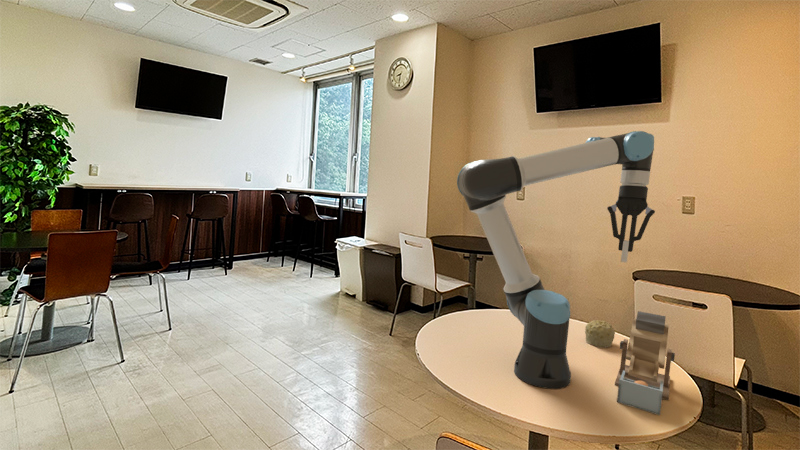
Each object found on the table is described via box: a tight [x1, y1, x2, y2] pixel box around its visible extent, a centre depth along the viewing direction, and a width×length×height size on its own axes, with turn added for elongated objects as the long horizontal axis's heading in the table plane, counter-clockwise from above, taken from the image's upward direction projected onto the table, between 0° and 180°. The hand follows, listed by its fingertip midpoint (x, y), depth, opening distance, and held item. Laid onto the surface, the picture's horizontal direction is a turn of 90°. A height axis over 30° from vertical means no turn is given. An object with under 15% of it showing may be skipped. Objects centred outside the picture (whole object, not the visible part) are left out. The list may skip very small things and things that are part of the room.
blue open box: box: [616, 370, 663, 416], centre depth 102 cm, size 9×9×6 cm
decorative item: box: [584, 319, 616, 349], centre depth 141 cm, size 10×10×10 cm
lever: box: [626, 310, 670, 383], centre depth 111 cm, size 22×9×9 cm
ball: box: [634, 380, 649, 387], centre depth 104 cm, size 4×4×4 cm
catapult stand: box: [614, 338, 676, 401], centre depth 112 cm, size 15×13×10 cm
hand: (623, 261), depth 124 cm, fingers closed
